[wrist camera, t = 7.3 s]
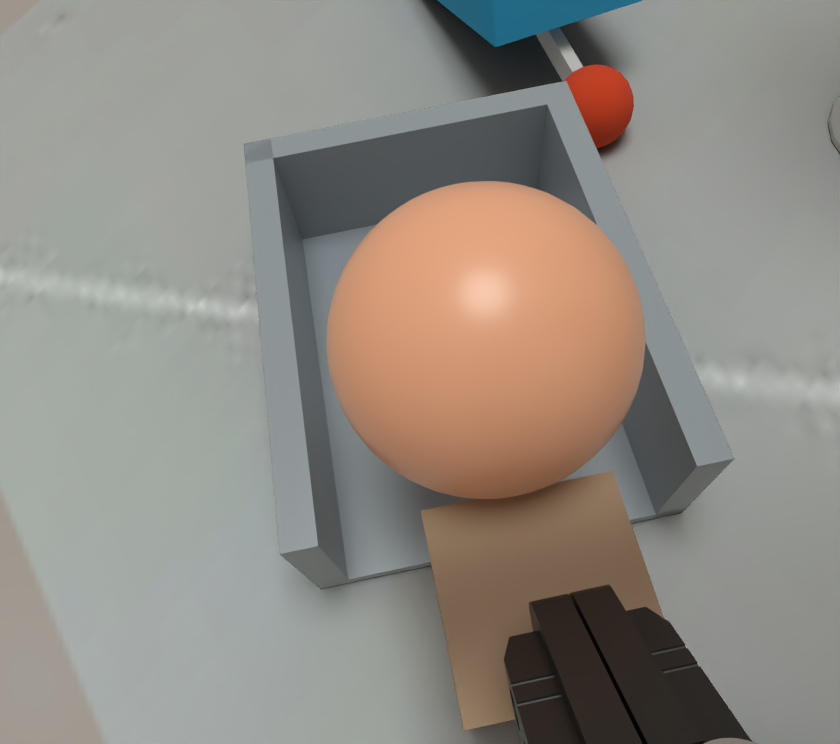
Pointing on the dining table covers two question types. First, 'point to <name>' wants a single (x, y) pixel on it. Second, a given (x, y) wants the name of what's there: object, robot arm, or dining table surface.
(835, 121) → the container
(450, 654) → the wooden block
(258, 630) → the dining table surface
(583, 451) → the ball
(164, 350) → the dining table surface
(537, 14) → the lever
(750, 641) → the dining table surface
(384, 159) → the tray
